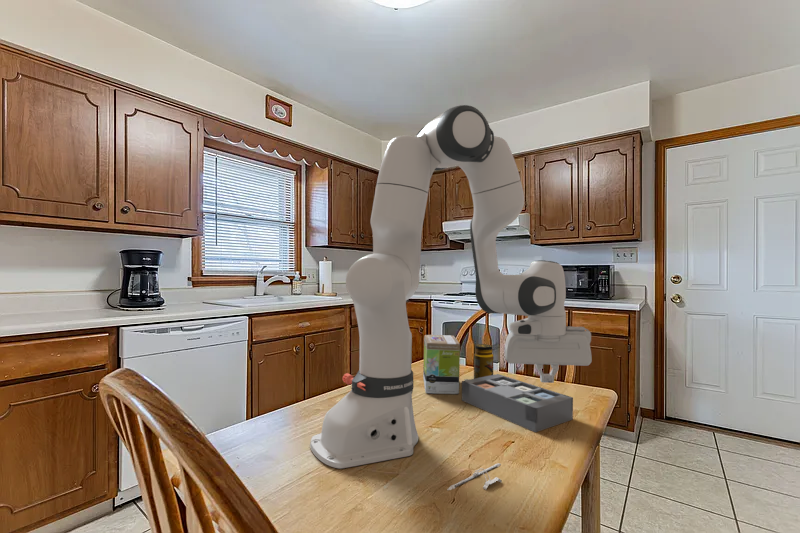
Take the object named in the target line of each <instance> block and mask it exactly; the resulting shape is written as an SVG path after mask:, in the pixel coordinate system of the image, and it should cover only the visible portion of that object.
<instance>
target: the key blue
mask: <svg viewBox="0 0 800 533" xmlns="http://www.w3.org/2000/svg"><path fill="white" fill-rule="evenodd" d="M535 395H537V396H540V397H543V398H546V399H548V398H552V397H555V396H552V395H549V394H546V393H543V392H542V393H539V394H535ZM532 400H534V401H537V402H538V401H541V400H538V399H536V398H533V397H532Z"/></svg>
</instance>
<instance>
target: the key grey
mask: <svg viewBox="0 0 800 533" xmlns="http://www.w3.org/2000/svg"><path fill="white" fill-rule="evenodd" d="M496 382H498V383H501V384H504V385H506V384H510V383H512V382H509V381H506V380H500V381H496ZM497 386H498V385H495V384H494V387H497ZM510 387H513V388H515V385H513V386H510Z"/></svg>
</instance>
